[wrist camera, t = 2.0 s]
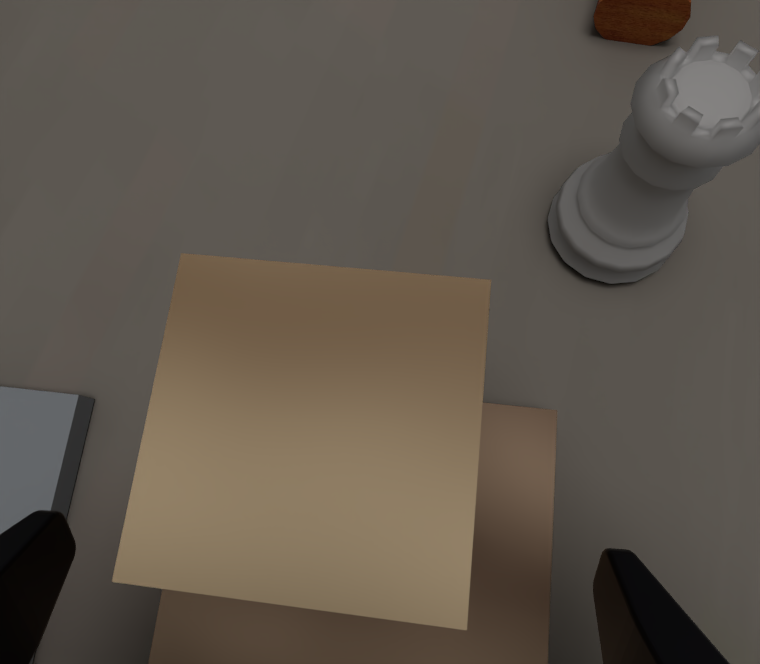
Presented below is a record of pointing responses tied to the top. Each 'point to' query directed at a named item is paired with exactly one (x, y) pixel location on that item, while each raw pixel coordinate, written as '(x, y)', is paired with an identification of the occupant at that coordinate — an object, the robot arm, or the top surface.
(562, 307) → the top surface
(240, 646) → the walnut ledge
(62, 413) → the slate tile
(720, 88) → the rook chess piece
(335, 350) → the oak block
